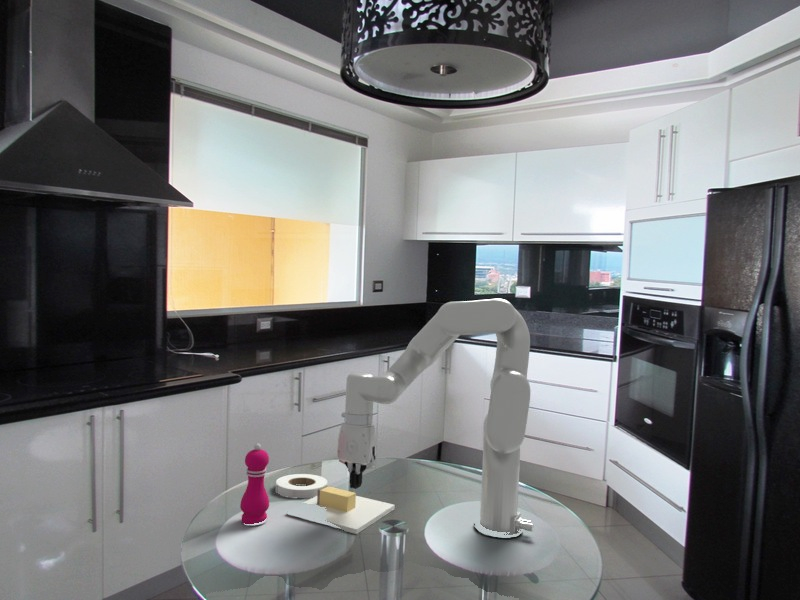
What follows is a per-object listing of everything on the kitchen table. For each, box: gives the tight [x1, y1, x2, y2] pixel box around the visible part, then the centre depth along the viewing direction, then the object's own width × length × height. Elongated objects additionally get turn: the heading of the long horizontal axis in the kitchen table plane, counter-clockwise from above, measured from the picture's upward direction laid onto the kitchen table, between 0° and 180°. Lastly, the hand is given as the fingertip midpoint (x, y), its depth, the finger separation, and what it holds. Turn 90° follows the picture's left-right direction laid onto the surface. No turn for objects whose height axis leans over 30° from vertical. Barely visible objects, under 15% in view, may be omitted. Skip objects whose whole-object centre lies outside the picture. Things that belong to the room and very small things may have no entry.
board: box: [302, 495, 395, 535], centre depth 149 cm, size 22×20×1 cm
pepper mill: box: [239, 443, 270, 524], centre depth 140 cm, size 7×7×20 cm
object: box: [275, 473, 328, 499], centre depth 165 cm, size 16×15×3 cm
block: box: [317, 485, 357, 512], centre depth 150 cm, size 4×4×10 cm
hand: (355, 486), depth 147 cm, fingers closed
